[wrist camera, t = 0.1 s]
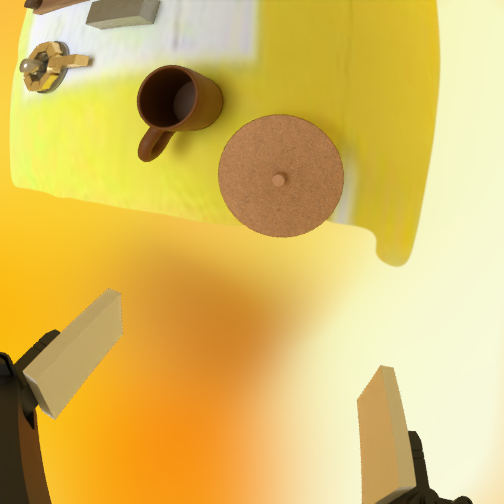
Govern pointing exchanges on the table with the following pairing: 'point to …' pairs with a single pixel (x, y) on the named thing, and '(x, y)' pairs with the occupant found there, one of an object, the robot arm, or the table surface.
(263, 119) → the lidded bowl
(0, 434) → the robot arm
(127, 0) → the bar
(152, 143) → the mug
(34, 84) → the golden ring with handle
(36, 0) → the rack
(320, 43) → the table surface
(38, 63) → the nut station
